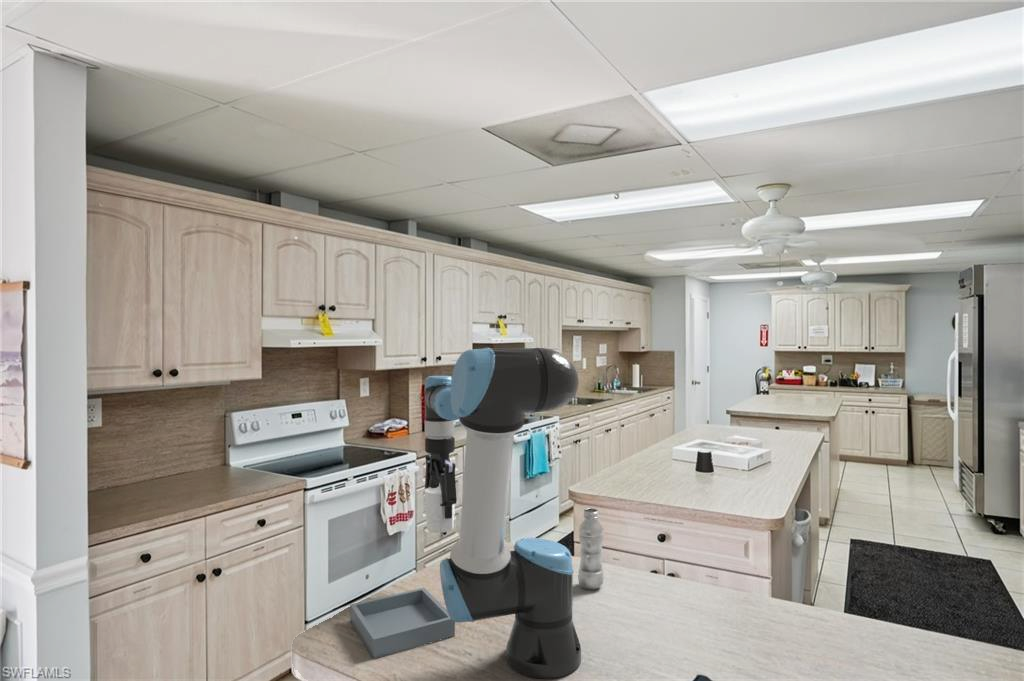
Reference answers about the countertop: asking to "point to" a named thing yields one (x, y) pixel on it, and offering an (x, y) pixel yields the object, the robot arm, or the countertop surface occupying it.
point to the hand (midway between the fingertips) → (440, 526)
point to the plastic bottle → (591, 551)
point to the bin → (400, 622)
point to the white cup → (435, 509)
